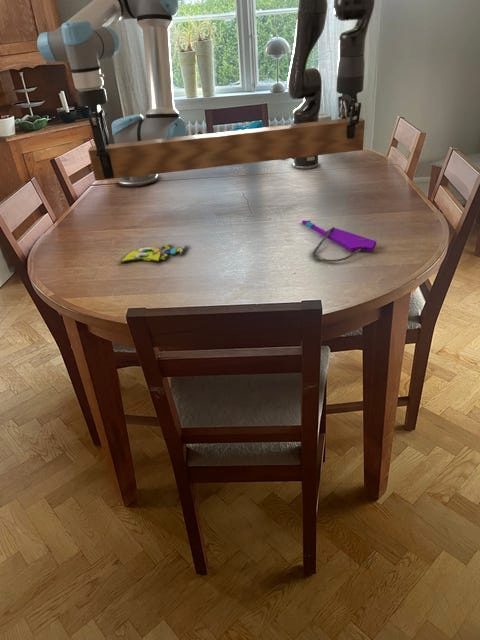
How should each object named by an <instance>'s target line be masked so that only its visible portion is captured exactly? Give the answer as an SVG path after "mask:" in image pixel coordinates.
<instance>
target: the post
mask: <svg viewBox="0 0 480 640" xmlns="http://www.w3.org/2000/svg"><path fill="white" fill-rule="evenodd" d="M365 122H366V120H365V119H363V118H362V117H361V116H360V117H359V123H358V124H356V125H355V137H354V138H352V139H348V138H347V118H345V119H340V118H337V119H331V120H327V121H318V122H309V123H300V124H293V123H292V124H291V123H290V124H283V125H282V124H281V125H274V126H264V127H263V128H254V129H245V130H236V131H231V130H229V131H218V132H210V133H203V134H200V133H199V134H192V135H186V136H181V137H172V138H163V139H154V140H145V141H136V142H127V143H118V144H115V143H111V144H108V145H107V151H108V154H109V156H110V160H111V164H112V169H113V173H114V178H107V179H105V178H104V173H103V169H102V165H101V161H100V157H99V156H96V154H97V149H96V145H91V146H90V147H89V148H88V156H89V160H90V164H91V167H92V172H93V176H94V180H95V181H96V182H97V181H105V180H107V181H108V180H115V179H118V178H125V177H134V176H142V175H151V174H158V175H159V174H168V173H175V172H183V171H184V172H185V171H194V170H201V169H212V168H219V167H220V168H221V167H229V166H237V165H245V164H246V165H247V164H254V163H263V162H272V161H280V160H288V159H289V160H290V159H292V158H299V157H307V156H316V155H318V156H323V155H333V154H342V153H349V152H360V151H363V150H364V138H365V125H366V123H365ZM100 151H101V150H100Z"/></svg>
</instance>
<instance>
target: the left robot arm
mask: <svg viewBox="0 0 480 640" xmlns="http://www.w3.org/2000/svg"><path fill="white" fill-rule="evenodd" d="M178 13H179V0H92V1H90V3H88V4H87V5H86V6H84V7H83V8H82V9H80V10H78V12H76V13H75V14H74V15H73V16H72V17H70V18H69V19H68V20H66V21H65V22H63V23H62V24H61V25H60V26H59V27H57V28H56V29H55V30H53V31H45V32H41V33H40V34H38V37H37V40H36V41H37V42H36V44H37V50H38V52H39V54H40V56H41V58H42V59H43V60H44V61H45V62H48V63H57V64H59V63H69V66H70V71H71V76H72V80H73V85H74V88H75V89H76V90H77V91H76V95H77V99H78V100H77V101H78V105H79V106H80V107H83V108H86V107H87V108H88V113H87V117H88V122H89V126H90V129H91V132H92V137H93V140H94V146H96V149H97V154H96V156H99V157H100V161H101V165H102V169H103V173H104V178H105V179H107V178H114V173H113V169H112V164H111V160H110V156H109V154H108V151H107V145H108V144H112V143H111V139H110V135H109V131H108V127H107V120H106V118H105V116H106V115H105V110H104V109H103V108H101V106H102V105H106V104H107V103H108V97H107V92H106V89H105V88H104V87H103V86H104V79H103V78H104V77H105V74H104V73H103V72H102V71H101V66H100V65H101V64H100V61H101V60H105V59H106V60H107V59H111V58H113V57H115V56H116V55H117V54H118V53H119V51H120V48H121V40H120V38H119V35H118V34H117V32H116V30H114V29H113V28H111V27H109V25H115V24H117V23H118V22H120V21H125V20H136V24H137V25H138V26H139V27H140V28H141V30H142V39H143V49H144V51H143V52H144V61H145V73H146V85H147V94H148V105H149V108H148V109H147V111H146V112H145V118H144V116H143V114H140V113H138V114H133V115H132V114H131V115H128V116H124V117H121V118H118V119H115V120H113V121H112V122H111V132H112V133H111V135H112V138H113V142H114V143H113V144H118V143H127V142H136V141H145V140H154V139H163V138H172V137H181V136H187V125H186V122H185V120H184V119H183V118H182V117H180V113H179V112H180V111H178V110H177V109H176V107H175V101H174V99H175V98H174V87H173V86H174V84H173V71H172V59H171V57H172V56H171V43H170V31H169V30H170V28H171V27H172V25H173V24H174V23H173V17H175V16H176V15H177V14H178ZM100 150H101V151H100ZM158 175H159V174H151V175H142V176H134V177H125V178H117V183H118V186H120V187H123V188H124V187H125V188H136V187H137V188H138V187H145V186H147V185H148V186H149V185H151V184H154V183H156V182H157V181H158V180H159V176H158ZM107 180H108V179H107Z"/></svg>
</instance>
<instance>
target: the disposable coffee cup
mask: <svg viewBox="0 0 480 640" xmlns="http://www.w3.org/2000/svg"><path fill="white" fill-rule="evenodd" d="M327 120H333V119H332V116H331V114H330V113H319V121H327Z"/></svg>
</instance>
